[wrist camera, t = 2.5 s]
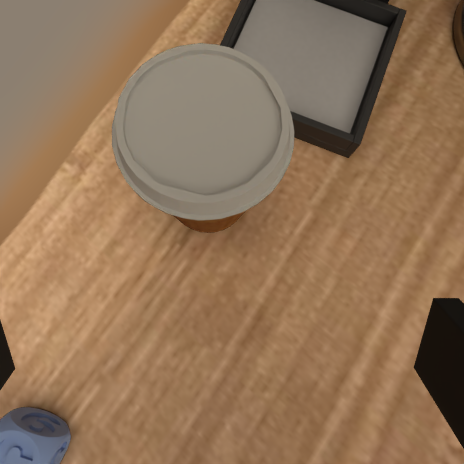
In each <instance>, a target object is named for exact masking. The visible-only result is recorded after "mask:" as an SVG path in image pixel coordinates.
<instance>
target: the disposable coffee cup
mask: <svg viewBox="0 0 464 464" xmlns="http://www.w3.org/2000/svg"><path fill="white" fill-rule="evenodd" d="M112 147H113V151H114V155H115V159H116V163H117V165H118V167H119V169H120V171H121V173H122V174H123V176H124V178H125V180H126V182H127V183H128V184H129V185H130V186H131V187H132V189H133V190H134V191H135V192H136V193H137V194H138V195H139V196H140V197H141V198H142V199H143V200H145V201H146V202H147V203H149V204H150V205H152V206H154V207H156V208H158V209H159V210H161V211H163V212H165V213H168V214H171V215H173V216H175V217H176V218H177V219H178V220H179V221H181V222H182V223H183V224H184V225H185V226H187V227H189V228H191V229H193V230H196V231H199V232H207V233H208V232H217V231H221V230H224V229H226V228H228V227H230V226H231V225H232V224H234V223H235V222H236V221H237V220H238V219H239V218H240V216H241V215H242V214H243V213H244V212H245V211H246V210H248V209H249V208H251V207H253V206H255V205H256V204H258V203H259V202H260V201H262V200H263V199H264V198H265V197H266V196H268V195H269V194H270V193H271V192H272V191H273V190H274V189H275V187H276V186H277V185H278V183H279V182H280V180H281V179H282V178H283V176H284V174H285V172H286V169H287V167H288V165H289V163H290V160H291V156H292V152H293V148H294V126H293V120H292V115H291V112H290V110H289V107H288V104H287V102H286V100H285V97H284V95H283V92H282V90H281V88H280V87H279V85H278V83H277V82H276V80H275V79H274V78H273V76H272V75H271V74H270V73H269V72H268V71H267V70H266V69H265V68H264V67H263V66H262V65H261V64H259V63H258V62H257V61H256V60H254V59H253V58H251V57H249V56H247V55H245V54H243V53H241V52H239V51H236V50H234V49H232V48H229V47H225V46H220V45H216V44H203V43H198V44H191V45H183V46H179V47H175V48H172V49H169V50H166V51H164V52H162V53H160V54H158V55H156V56H154V57H153V58H151V59H150V60H148V61H147V62H145V63H144V64H143V65H142V66H141V67H140V68H139V69H138V70H137V71H136V72H135V73H134V74H133V75H132V76H131V77H130V78H129V80H128V82H127V84H126V86H125V88H124V89H123V91H122V93H121V95H120V97H119V100H118V106H117V109H116V111H115V116H114V120H113V124H112Z"/></svg>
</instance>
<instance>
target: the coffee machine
mask: <svg viewBox="0 0 464 464" xmlns="http://www.w3.org/2000/svg"><path fill="white" fill-rule="evenodd" d="M388 1H389V0H241V1H240V4H239V6H238V8H237V10H236V12H235V14H234V16H233V19H232V21H231V23H230V25H229V27H228V29H227V31H226V33H225V36H224V38H223V40H222V42H221V44H220V46H225V47H229V48H232V49H234V50H236V51H239V52H241V53H243V54H245V55H247V56H249V57H251V58H253V59H254V60H256V61H257V62H258V63H259V64H261V65H262V66H263V67H264V68H265V69H266V70H267V71H268V72H269V73H270V74H271V75H272V76H273V78H274V79H275V80H276V82H277V83H278V85H279V87H280V88H281V90H282V92H283V95H284V97H285V100H286V102H287V104H288V107H289V110H290V112H291V115H292V120H293V126H294V137H295V138H298V139H301V140H303V141H306V142H308V143H311V144H314V145H316V146H319V147H321V148H324V149H327V150H329V151H332V152H334V153H337V154H340V155H342V156H345V157H347V158H349V157H350V156H351V154H352V153H353V152H354V151H355V150H356V149H357V148H358V146H359V145H360V144H361V141H362V138H363V135H364V132H365V129H366V126H367V124H368V121H369V118H370V115H371V112H372V109H373V106H374V103H375V100H376V98H377V95H378V92H379V89H380V86H381V83H382V80H383V77H384V75H385V72H386V69H387V66H388V63H389V60H390V57H391V54H392V51H393V49H394V46H395V43H396V40H397V37H398V34H399V31H400V28H401V26H402V23H403V20H404V17H405V14H406V10H403V9H399V8H397V7H394V6H392V5H389V4H387V3H388Z"/></svg>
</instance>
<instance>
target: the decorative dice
mask: <svg viewBox="0 0 464 464" xmlns="http://www.w3.org/2000/svg"><path fill="white" fill-rule="evenodd" d="M70 439H71V435H70V431H69V428H68V425H67V424H66V423H65V422H64V421H63V420H62V419H61V418H59V417H58V416H56V415H54V414H52V413H50V412H47V411H45V410H41V409H37V408H30V407H21V408H17V409H14V410H12V411H10V412H9V413H7V414H6V415H5V416H4V417H3V418H2V419H1V420H0V464H60V462H61V460H62V459H63V457H64V455H65V452H66V450H67V448H68V446H69V443H70Z"/></svg>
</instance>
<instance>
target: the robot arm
mask: <svg viewBox="0 0 464 464" xmlns="http://www.w3.org/2000/svg"><path fill="white" fill-rule="evenodd" d="M454 40H455V44H456V48H457V51H458V54H459V56H460V58H461V61H462V62H463V64H464V0H461V1H460V3H459V5H458V7H457V10H456V13H455V17H454ZM414 369H415V370H416V372H417V374H418V375H419V377H420V378H421V380H422V382H423V383H424V385H425V387H426V388H427V390H428V391H429V393H430V395H431V396H432V398H433V400H434V401H435V403H436V405H437V406H438V408H439V409H440V411H441V413H442V414H443V416H444V418H445V419H446V421H447V422H448V424H449V426H450V427H451V429H452V431H453V432H454V434H455V435H456V437H457V439H458V440H459V442H460V444H461V445H462V447H463V448H464V303H463V302H462V301H461V300H460V299H459V298H433V301H432V305H431V308H430V312H429V315H428V319H427V322H426V326H425V329H424V333H423V337H422V340H421V344H420V347H419V351H418V354H417V358H416V361H415V365H414ZM14 370H15V366H14V363H13V360H12V356H11V353H10V350H9V347H8V343H7V340H6V337H5V334H4V330H3V327H2V324H1V321H0V390H1V389H2V387H3V386H4V384H5V383H6V381H7V380H8V378H9V377H10V375H11V374H12V373H13V371H14Z"/></svg>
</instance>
